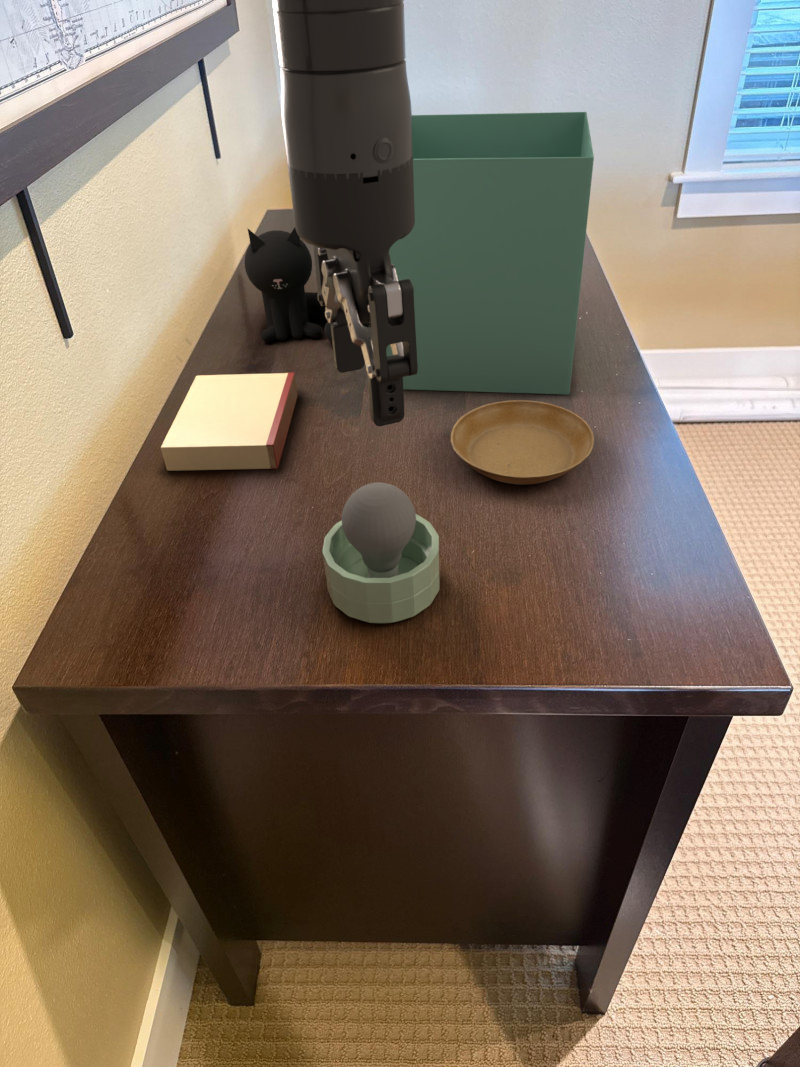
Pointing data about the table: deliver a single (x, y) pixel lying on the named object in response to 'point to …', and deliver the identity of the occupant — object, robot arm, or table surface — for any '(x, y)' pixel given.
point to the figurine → (284, 285)
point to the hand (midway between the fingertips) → (368, 394)
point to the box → (497, 249)
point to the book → (232, 423)
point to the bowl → (383, 595)
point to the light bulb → (379, 526)
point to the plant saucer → (522, 441)
